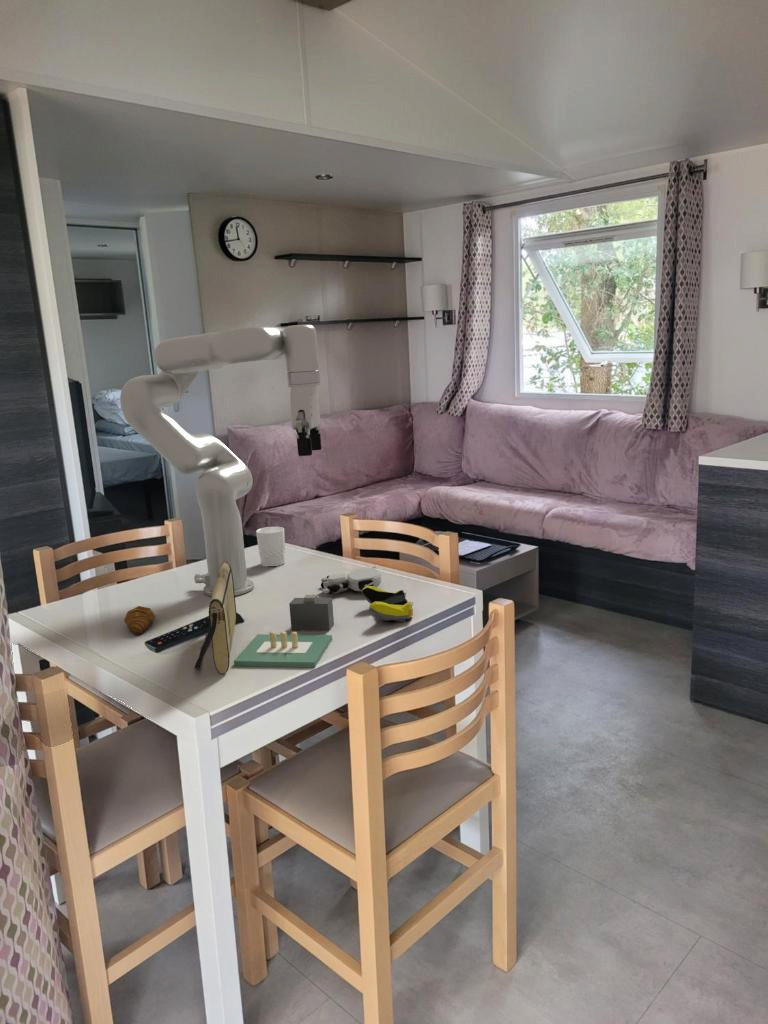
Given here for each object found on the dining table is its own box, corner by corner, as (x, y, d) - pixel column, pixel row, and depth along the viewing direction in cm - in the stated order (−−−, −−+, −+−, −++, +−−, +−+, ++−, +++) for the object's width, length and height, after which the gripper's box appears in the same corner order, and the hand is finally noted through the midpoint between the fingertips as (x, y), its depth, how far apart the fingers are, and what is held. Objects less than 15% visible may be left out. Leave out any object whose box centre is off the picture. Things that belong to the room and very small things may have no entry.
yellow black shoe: (371, 629, 163) (417, 624, 164) (370, 605, 162) (416, 599, 163) (361, 607, 177) (404, 602, 179) (360, 584, 176) (402, 580, 178)
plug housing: (291, 630, 164) (288, 599, 163) (296, 623, 168) (294, 593, 167) (329, 630, 163) (327, 599, 161) (334, 624, 167) (331, 593, 165)
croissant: (129, 619, 179) (126, 598, 178) (159, 615, 180) (156, 595, 179) (121, 639, 166) (118, 617, 165) (153, 635, 167) (151, 613, 166)
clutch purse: (206, 627, 169) (199, 562, 166) (238, 624, 170) (231, 559, 167) (191, 683, 141) (182, 605, 138) (230, 679, 141) (222, 601, 138)
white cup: (253, 565, 218) (250, 531, 216) (274, 558, 224) (271, 525, 222) (272, 569, 213) (268, 534, 211) (292, 562, 219) (290, 528, 216)
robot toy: (323, 604, 184) (385, 594, 185) (320, 586, 183) (382, 576, 184) (321, 589, 196) (379, 580, 197) (319, 572, 195) (377, 563, 196)
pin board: (234, 665, 147) (232, 645, 146) (258, 638, 161) (256, 620, 160) (314, 667, 144) (313, 646, 143) (332, 639, 158) (330, 620, 157)
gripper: (297, 379, 187) (303, 448, 191) (278, 382, 170) (285, 458, 174) (327, 377, 186) (333, 447, 190) (310, 380, 169) (317, 457, 173)
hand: (310, 452), depth 182 cm, fingers open, 9 cm apart
